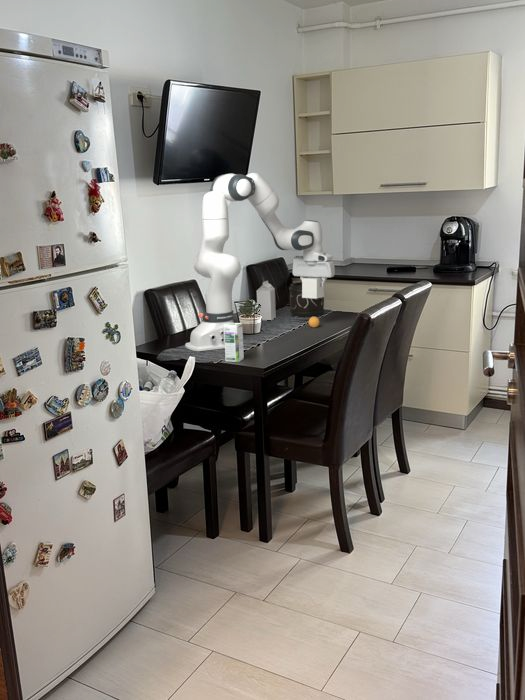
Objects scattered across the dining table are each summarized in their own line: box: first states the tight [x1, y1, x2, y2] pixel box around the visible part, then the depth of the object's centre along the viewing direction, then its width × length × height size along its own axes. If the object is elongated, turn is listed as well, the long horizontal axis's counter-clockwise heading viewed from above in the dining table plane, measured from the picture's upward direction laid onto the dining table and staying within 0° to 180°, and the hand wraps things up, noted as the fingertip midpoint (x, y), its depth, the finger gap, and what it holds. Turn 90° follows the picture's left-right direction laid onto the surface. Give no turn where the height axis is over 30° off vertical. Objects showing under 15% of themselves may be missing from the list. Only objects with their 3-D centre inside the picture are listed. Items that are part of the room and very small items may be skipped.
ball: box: [308, 317, 320, 328], centre depth 314 cm, size 5×5×5 cm
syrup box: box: [224, 322, 245, 363], centre depth 262 cm, size 6×6×14 cm
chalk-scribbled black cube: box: [288, 281, 325, 318], centre depth 343 cm, size 18×18×16 cm
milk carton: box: [256, 280, 277, 321], centre depth 335 cm, size 7×7×19 cm
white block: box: [301, 277, 325, 299], centre depth 310 cm, size 7×7×9 cm
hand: (313, 286), depth 311 cm, fingers closed on white block, 7 cm apart
